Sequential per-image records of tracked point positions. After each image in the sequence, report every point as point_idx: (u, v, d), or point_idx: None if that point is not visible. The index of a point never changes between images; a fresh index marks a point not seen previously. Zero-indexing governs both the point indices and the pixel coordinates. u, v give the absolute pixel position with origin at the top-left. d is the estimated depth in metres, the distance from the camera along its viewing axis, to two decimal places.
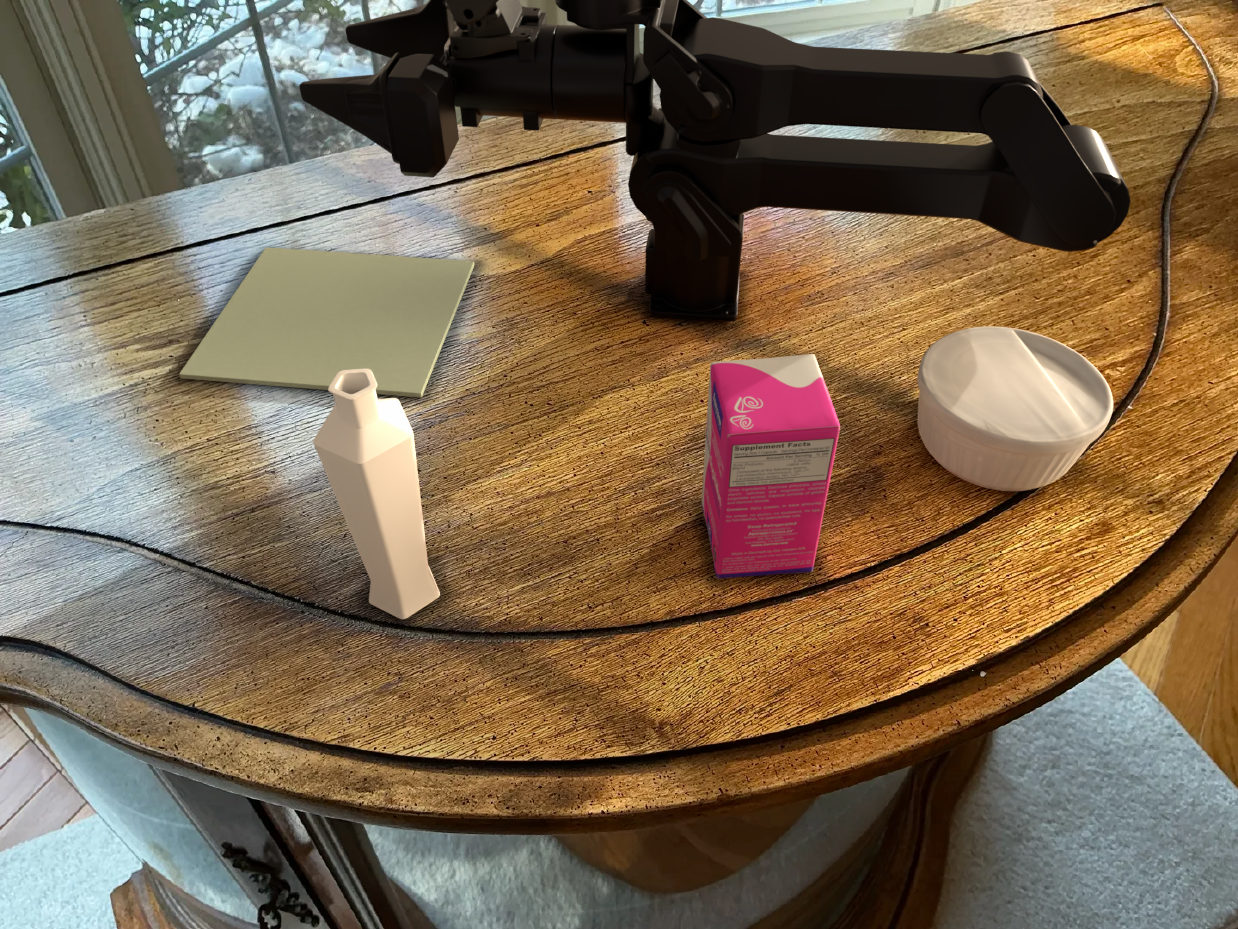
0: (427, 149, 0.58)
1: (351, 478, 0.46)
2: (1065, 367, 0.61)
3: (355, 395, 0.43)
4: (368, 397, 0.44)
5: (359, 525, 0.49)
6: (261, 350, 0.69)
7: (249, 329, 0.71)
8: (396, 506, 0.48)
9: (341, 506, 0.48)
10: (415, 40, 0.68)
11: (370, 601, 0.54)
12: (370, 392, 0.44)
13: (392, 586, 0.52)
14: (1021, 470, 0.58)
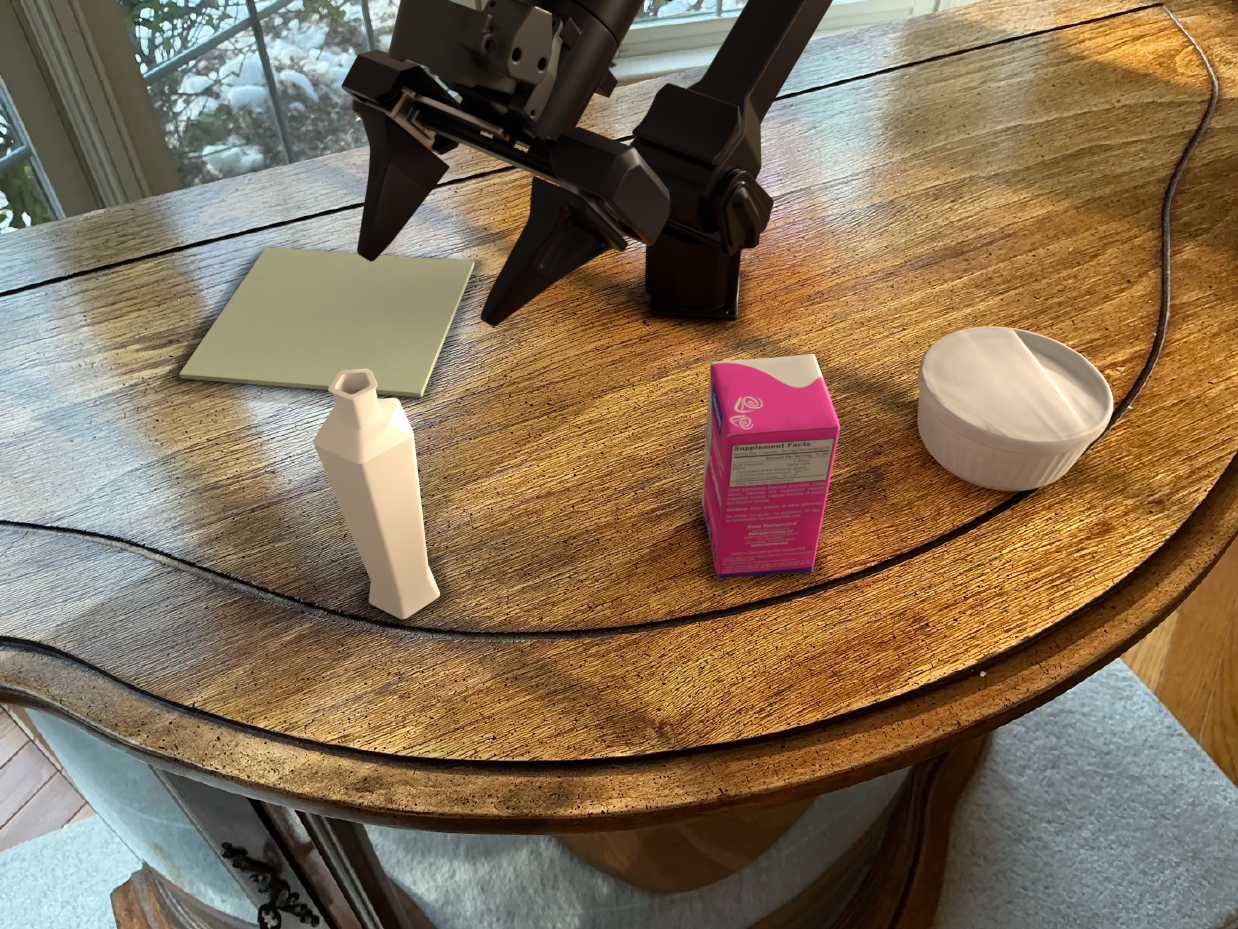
0: (660, 198, 0.47)
1: (351, 478, 0.46)
2: (1065, 367, 0.61)
3: (355, 395, 0.43)
4: (368, 397, 0.44)
5: (359, 525, 0.49)
6: (261, 350, 0.69)
7: (249, 329, 0.71)
8: (396, 506, 0.48)
9: (341, 506, 0.48)
10: (407, 181, 0.53)
11: (370, 601, 0.54)
12: (370, 392, 0.44)
13: (392, 586, 0.52)
14: (1021, 470, 0.58)
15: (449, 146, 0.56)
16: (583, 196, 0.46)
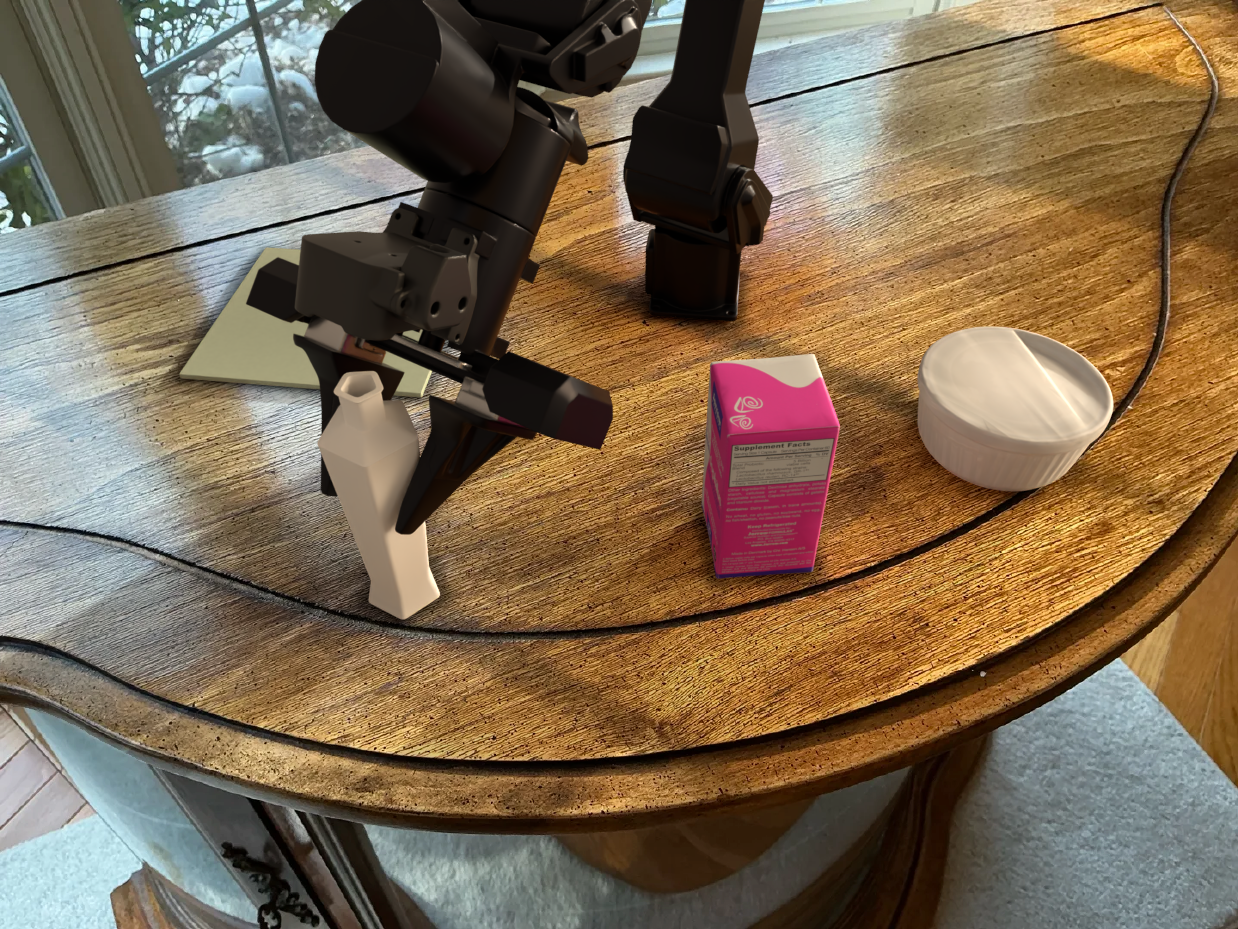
0: (602, 408, 0.45)
1: (355, 481, 0.46)
2: (1065, 367, 0.61)
3: (361, 398, 0.43)
4: (374, 400, 0.44)
5: (361, 526, 0.49)
6: (261, 350, 0.69)
7: (249, 329, 0.71)
8: (399, 509, 0.48)
9: (344, 507, 0.48)
10: None
11: (370, 601, 0.54)
12: (376, 395, 0.44)
13: (393, 587, 0.52)
14: (1021, 470, 0.58)
15: None
16: (484, 407, 0.45)
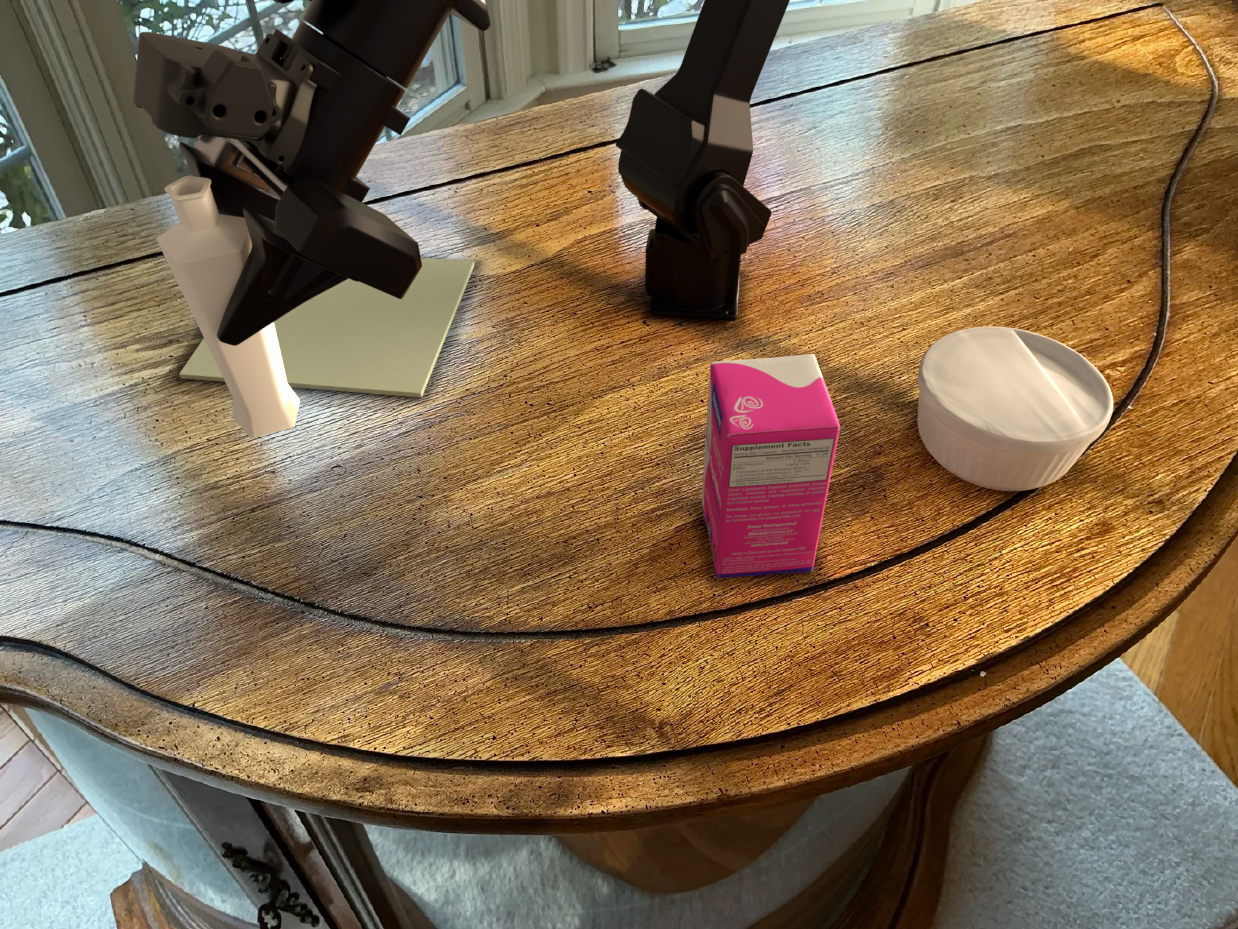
0: (396, 254, 0.46)
1: (182, 279, 0.49)
2: (1065, 367, 0.61)
3: (181, 197, 0.47)
4: (196, 203, 0.47)
5: (204, 331, 0.52)
6: None
7: None
8: None
9: (190, 309, 0.52)
10: None
11: (233, 415, 0.58)
12: (198, 198, 0.47)
13: (240, 402, 0.55)
14: (1021, 470, 0.58)
15: None
16: None
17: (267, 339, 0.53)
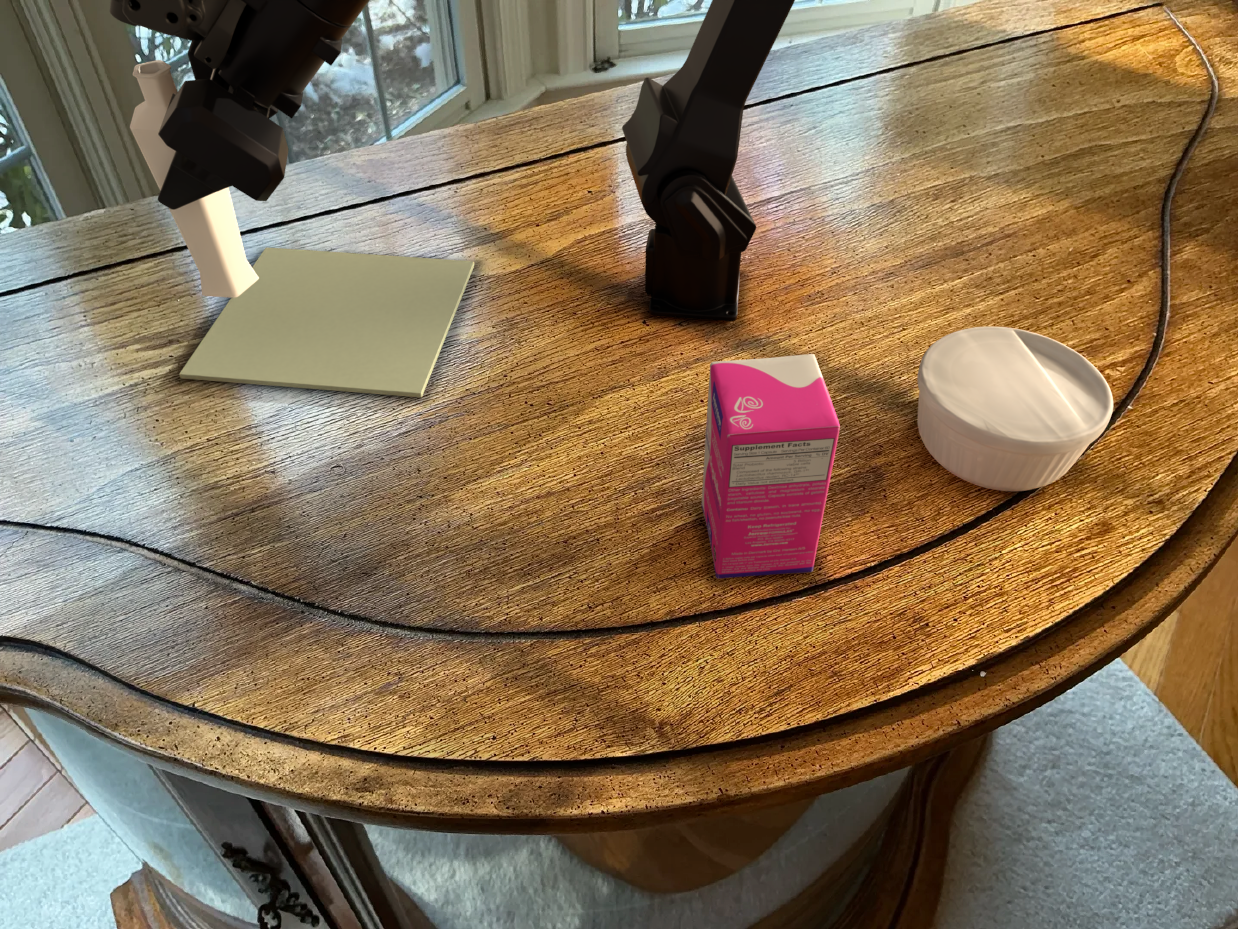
0: (248, 159, 0.52)
1: None
2: (1065, 367, 0.61)
3: (138, 74, 0.56)
4: (150, 82, 0.57)
5: None
6: (261, 350, 0.69)
7: (249, 329, 0.71)
8: None
9: None
10: None
11: None
12: (150, 78, 0.56)
13: (195, 262, 0.65)
14: (1021, 470, 0.58)
15: None
16: None
17: (211, 214, 0.62)
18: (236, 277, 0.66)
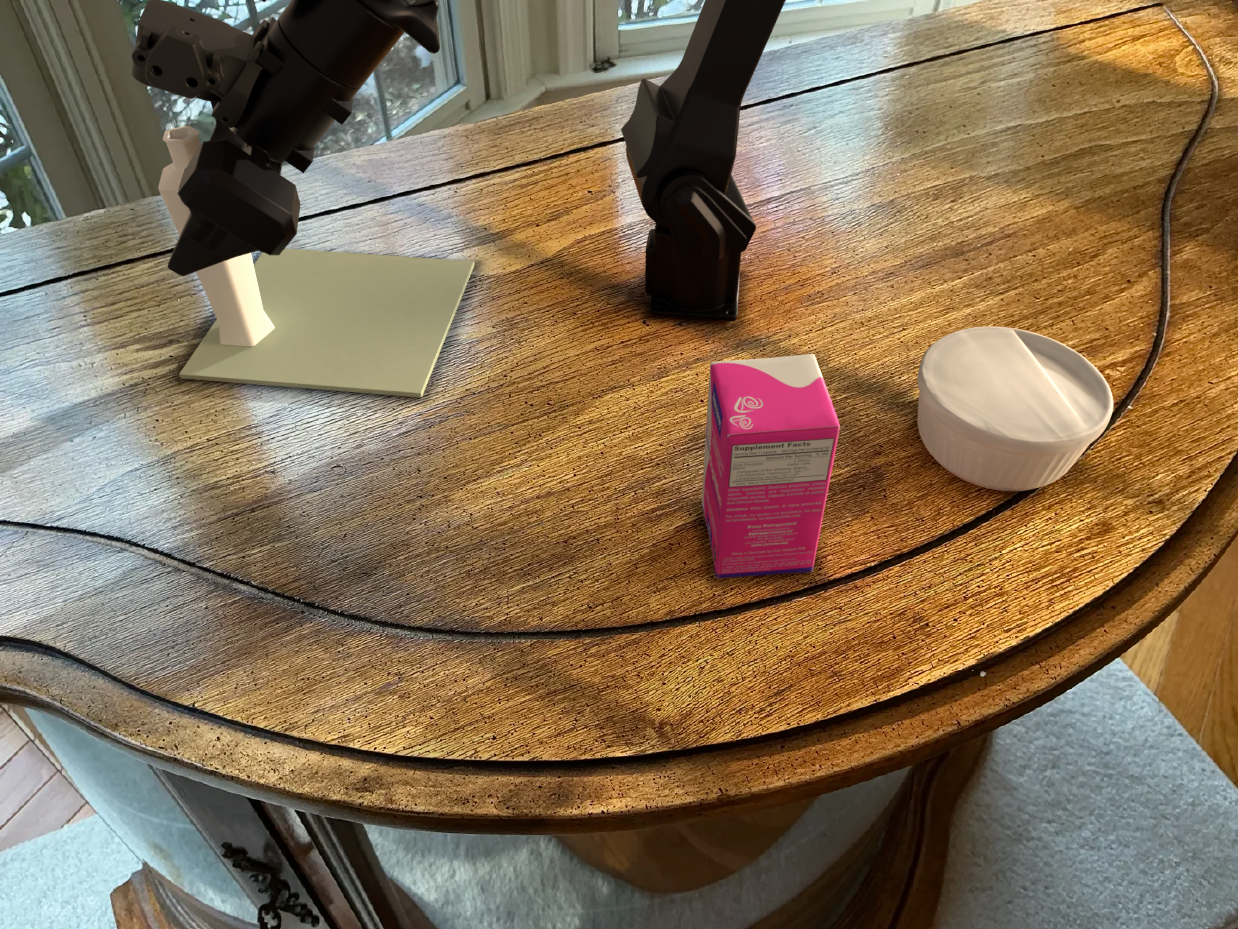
0: (262, 217, 0.55)
1: None
2: (1065, 367, 0.61)
3: (168, 139, 0.60)
4: (178, 147, 0.60)
5: None
6: (261, 350, 0.69)
7: None
8: None
9: None
10: None
11: None
12: (179, 143, 0.60)
13: (214, 312, 0.68)
14: (1021, 470, 0.58)
15: None
16: None
17: (232, 268, 0.65)
18: (253, 327, 0.69)
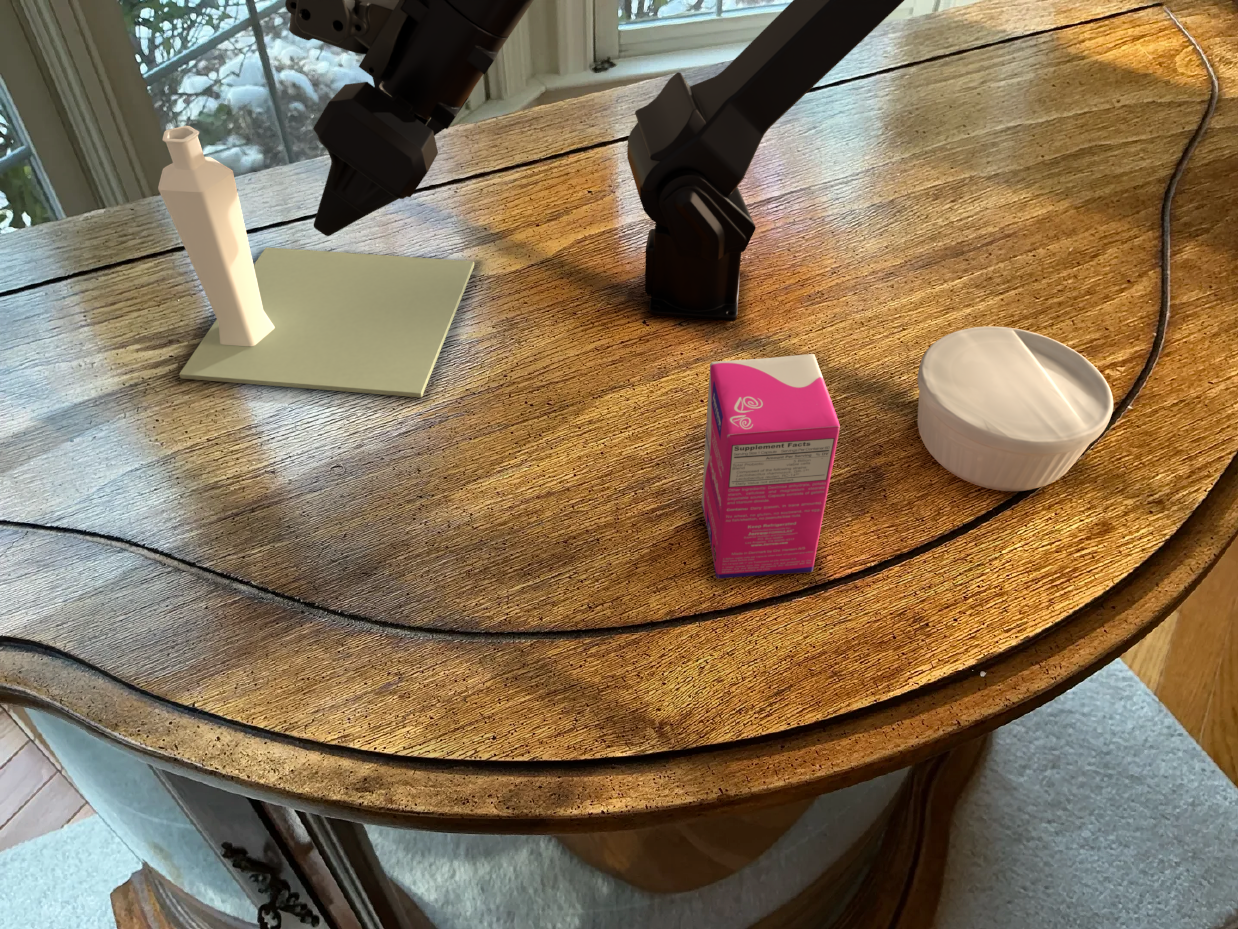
0: (392, 151, 0.53)
1: None
2: (1065, 367, 0.61)
3: (167, 139, 0.60)
4: (178, 147, 0.60)
5: None
6: (261, 350, 0.69)
7: None
8: (198, 244, 0.64)
9: None
10: None
11: None
12: (179, 143, 0.60)
13: (214, 313, 0.68)
14: (1021, 470, 0.58)
15: None
16: None
17: (232, 268, 0.65)
18: (253, 327, 0.69)
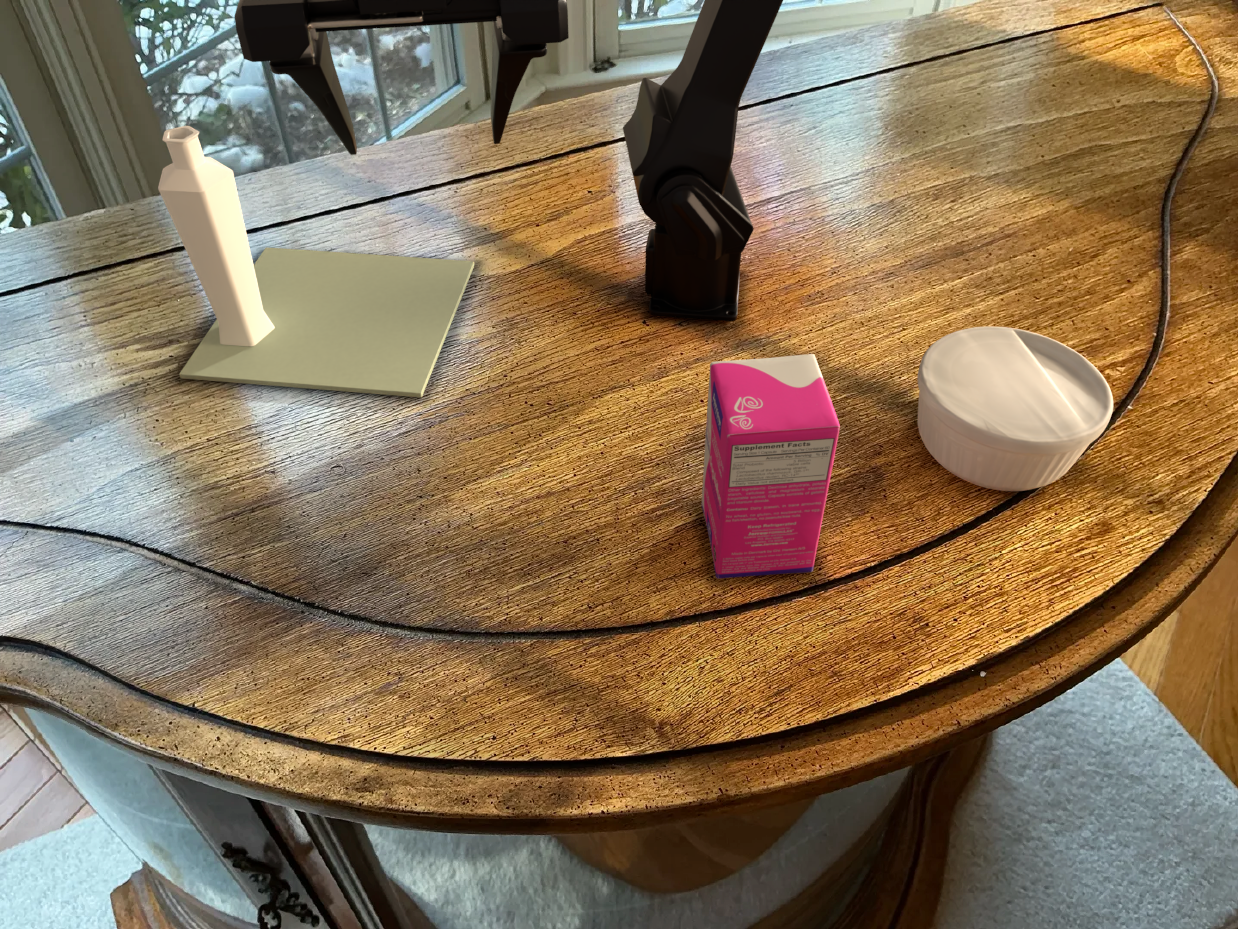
0: None
1: None
2: (1065, 367, 0.61)
3: (167, 139, 0.60)
4: (178, 147, 0.60)
5: None
6: (261, 350, 0.69)
7: None
8: (198, 244, 0.64)
9: None
10: (493, 70, 0.61)
11: None
12: (179, 143, 0.60)
13: (214, 313, 0.68)
14: (1021, 470, 0.58)
15: None
16: None
17: (232, 268, 0.65)
18: (253, 327, 0.69)
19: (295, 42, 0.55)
